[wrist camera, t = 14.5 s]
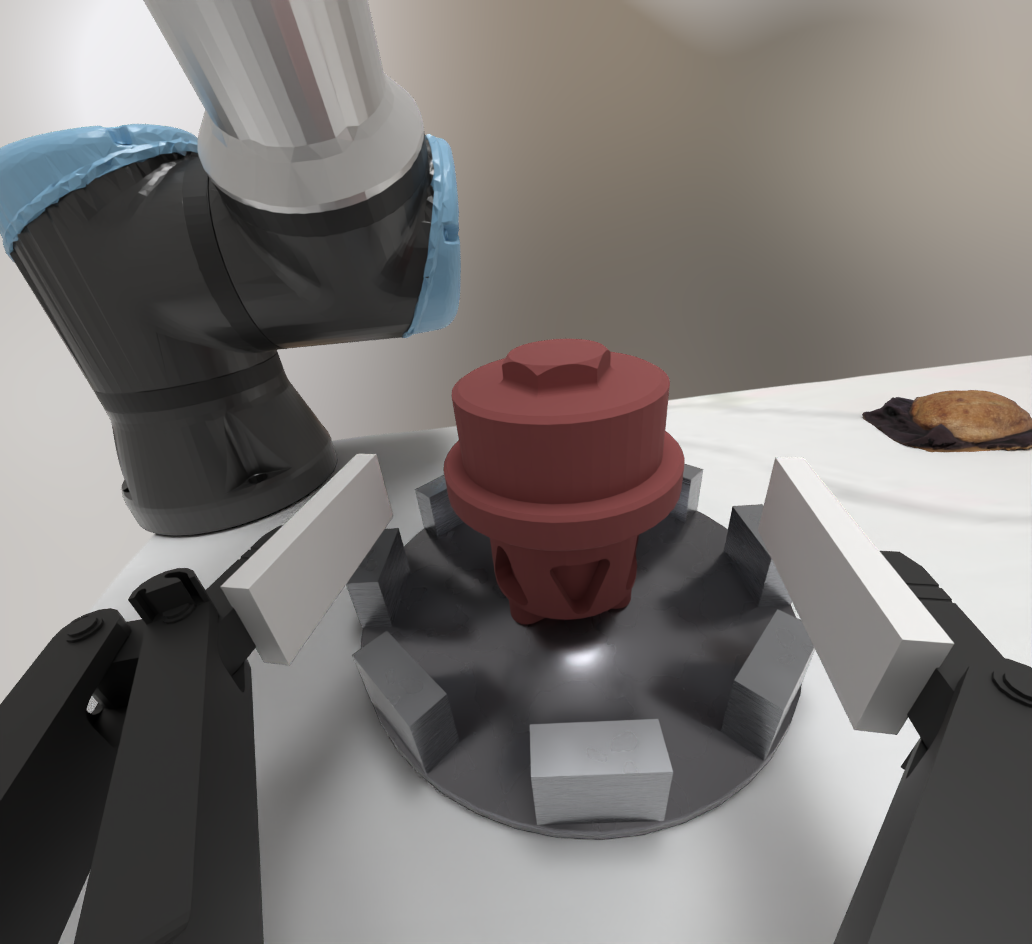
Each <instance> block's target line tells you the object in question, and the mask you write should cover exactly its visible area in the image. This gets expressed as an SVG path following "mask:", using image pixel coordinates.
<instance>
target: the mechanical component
mask: <svg viewBox="0 0 1032 944" xmlns="http://www.w3.org/2000/svg"><path fill="white" fill-rule="evenodd" d="M669 386H670V382H669V378H668V376H667V374H666V373H665V372H664V371H663V370H662V369H660V368H659V367H657V366H655V365H653V364H651V363H649V362H647V361H645V360H643V359H640V358H637V357H634V356H630V355H626V354H621V353H615V352H610V351H609V350H608V349H607V348H606V347H605V346H603V345H602V344H600V343H598V342H594V341H590V340H582V339H553V340H544V341H538V342H533V343H528V344H525V345H522V346H519V347H516V348H515V349H513V350H512V351H510V352H509V354H508V355H507V356H506V358H505V359H501V360H497V361H495V362H491V363H489V364H486V365H484V366H481V367H479V368H477V369H476V370H473V371H472V372H470V373H469V374H467V375H466V376H464V377H463V378H461V379H460V380H459V381H458V382H457V383H456V384H455V386H454V387H453V390H452V401H453V407H454V413H455V419H456V425H457V431H458V437H459V441H458V442H457V443H456V444H455V445H454V446H453V447H452V448H451V450H450V451H449V453H448V454H447V457H446V459H445V462H444V475H445V481H446V486H447V492H448V497H449V500H450V504H451V506H452V508H453V510H454V511H455V513H456V514H457V515H458V516H459V517H460V519H461V520H462V521H463V522H464V523H466V524H467V525H468V526H470V527H471V528H473V529H474V530H476V531H478V532H480V533H482V534H483V535H485V536H487V537H490V543H491V550H492V557H493V564H494V571H495V576H496V580H497V584H498V586H499V587H500V589H501V591H502V592H503V594H504V595H505V596H506V597H507V598H508V599H509V605H510V613H511V616H512V618H513V619H514V620H515V621H516V622H518V623H521V624H533V623H535V622H538V621H540V620H542V619H544V618H551V619H564V620H570V619H582V618H586V617H591V616H595V615H598V614H600V613H603V612H605V611H608V610H609V609H619V608H623V607H625V606H627V605H628V604H629V603H630V601H631V591H632V587H633V585H634V582H635V579H636V572H637V561H636V548H637V544H638V539H639V534H641V533H643V532H645V531H647V530H648V529H650V528H652V527H654V526H655V525H657V524H658V523H659V522H661V521H662V520H663V519H664V518H666V517H667V516H668V514H669V513H670V512H671V511H672V510H673V509H674V507H675V505H676V504H677V502H678V500H679V497H680V493H681V488H682V480H683V472H684V455H683V451H682V449H681V447H680V446H679V444H678V443H677V441H676V440H675V439H674V438H673V437H672V436H671V435H670V434H669V433H667V432H666V431H665V427H666V417H667V406H668V396H669Z"/></svg>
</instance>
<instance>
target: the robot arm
mask: <svg viewBox="0 0 1032 944" xmlns="http://www.w3.org/2000/svg"><path fill="white" fill-rule="evenodd" d="M144 2H145V4H146V5H147V7H148V9H149V11H150V13H151V14H152V16H153V18H154V19H155V21H156V23H157V25H158V27H159V29H160V30H161V32H162V34H163V36H164V37H165V39H166V41H167V43H168V44H169V46H170V48H171V50H172V51H173V53H174V55H175V57H176V58H177V60H178V61H179V64H180V65H181V67H182V69H183V71H184V73H185V74H186V76H187V78H188V80H189V81H190V83H191V85H192V86H193V88H194V90H195V92H196V93H197V95H198V97H199V99H200V100H201V102H202V104H203V106H204V108H205V109H206V110H205V113H204V116H203V120H202V123H201V127H200V131H199V135H198V138H197V137H196V136H194V135H193V134H191V133H189V132H187V131H184V130H182V129H178V128H173V127H168V126H160V125H149V124H130V125H122V126H119V127H111V128H104V127H102V126H90V127H81V128H74V129H67V130H61V131H55V132H50V133H46V134H41V135H37V136H33V137H29V138H25V139H22V140H19V141H17V142H13V143H10V144H8V145H6V146H4V147H2V148H0V234H1V236H2V238H3V245H4V248H5V251H6V253H7V254H8V256H9V257H10V258H11V260H12V261H13V262H15V263H16V265H17V267H18V268H19V270H20V272H21V273H22V275H23V276H24V278H25V280H26V281H27V283H28V285H29V286H30V288H31V289H32V291H33V293H34V294H35V296H36V298H37V299H38V301H39V303H40V304H41V306H42V307H43V309H44V311H45V312H46V314H47V315H48V317H49V319H50V320H51V322H52V324H53V325H54V327H55V329H56V330H57V332H58V334H59V335H60V337H61V338H62V340H63V341H64V343H65V345H66V346H67V348H68V350H69V351H70V353H71V355H72V356H73V358H74V359H75V361H76V363H77V364H78V366H79V368H80V369H81V371H82V373H83V374H84V376H85V378H86V379H87V381H88V382H89V384H90V386H91V387H92V389H93V390H94V392H95V394H96V395H97V397H98V399H99V401H100V402H101V404H102V405H103V407H104V409H105V411H106V413H107V414H108V416H109V418H110V420H111V423H112V428H113V434H114V440H115V445H116V450H117V455H118V459H119V464H120V467H121V470H122V474H123V476H124V479H125V480H124V482H123V484H122V494H123V498H124V501H125V503H126V505H127V506H128V508H129V509H130V511H131V513H132V514H133V515H134V517H135V519H136V520H137V522H138V523H139V525H140V526H141V527H142V528H144V529H145V530H147V531H150V532H153V533H156V534H162V535H193V534H201V533H207V532H213V531H218V530H222V529H226V528H230V527H234V526H238V525H241V524H244V523H247V522H250V521H253V520H256V519H259V518H261V517H264V516H266V515H269V514H271V513H274V512H276V511H278V510H280V509H282V508H284V507H286V506H288V505H290V504H292V503H294V502H296V501H298V500H299V499H301V498H303V497H304V496H306V495H307V494H309V493H310V492H312V491H313V490H314V489H316V488H317V487H318V486H319V485H321V484H322V483H323V482H324V481H325V480H326V479H327V478H328V477H329V476H330V474H331V473H332V472H333V470H334V468H335V466H336V463H337V455H336V452H335V449H334V446H333V443H332V440H331V437H330V435H329V433H328V431H327V430H326V429H325V427H324V426H323V425H322V424H321V422H320V421H319V420H318V418H317V417H316V416H315V414H314V413H313V412H312V410H311V409H310V408H309V406H308V405H307V404H306V402H305V401H304V400H303V399H302V397H301V396H300V395H299V393H298V392H297V391H296V389H295V388H294V387H293V385H292V384H291V383H290V381H289V380H288V378H287V376H286V374H285V371H284V369H283V366H282V363H281V361H280V358H279V355H278V352H277V350H278V349H287V348H297V347H307V346H317V345H327V344H338V343H348V342H358V341H368V340H379V339H389V338H400V337H402V338H407V337H410V336H411V335H412V334H417V333H423V332H428V331H434V330H439V329H442V328H444V327H446V326H448V325H449V324H450V323H451V322H452V321H453V319H454V318H455V316H456V314H457V310H458V306H459V298H460V272H461V270H460V268H461V263H460V241H459V236H458V231H459V223H458V217H459V210H458V195H457V183H456V175H455V167H454V161H453V156H452V152H451V148H450V146H449V144H448V143H447V142H446V141H445V140H443V139H441V138H436V137H435V136H431V134H428V135H425V134H424V127H423V121H422V116H421V113H420V110H419V108H418V106H417V104H416V102H415V101H414V99H413V97H412V96H411V95H410V94H409V93H408V92H407V91H406V90H405V89H404V88H403V87H401V86H400V85H399V84H398V83H396V82H395V81H394V80H393V79H391V78H390V77H389V76H387V75H386V74H385V73H384V72H383V68H382V63H381V59H380V54H379V49H378V45H377V41H376V36H375V31H374V27H373V22H372V17H371V13H370V9H369V4H368V0H144ZM392 517H393V513H392V509H391V506H390V502H389V498H388V495H387V491H386V487H385V484H384V480H383V477H382V473H381V469H380V466H379V462H378V458H377V455H376V454H356V455H355V456H354V457H353V458H352V459H351V460H350V461H349V462H348V463H347V464H346V465H345V466H344V467H343V468H342V469H341V470H340V471H339V472H338V473H337V474H336V475H335V476H334V477H333V478H332V479H330V480H329V481H328V482H327V483H326V484H325V485H324V486H323V487H322V488H321V489H320V490H319V491H318V492H317V493H316V494H315V495H314V496H313V497H312V498H311V499H310V500H309V501H308V502H307V503H306V504H305V505H304V506H303V507H302V508H301V509H300V510H299V511H298V512H297V513H296V514H295V515H293V516H292V517H291V518H290V519H289V520H288V521H287V522H286V523H285V524H284V525H283V526H279V527H277V528H275V529H274V530H272V531H270V532H269V533H267V534H265V535H264V536H262V537H261V538H260V539H259V540H258V541H257V542H256V543H255V544H254V545H253V546H252V547H251V550H248V551H247V552H246V553H244V554H243V555H242V556H241V559H240V560H237V561H236V562H235V563H234V564H233V565H232V566H231V567H230V568H229V569H228V570H227V571H225V572H224V573H223V574H222V575H221V576H220V577H219V578H218V579H217V580H216V581H215V582H214V583H213V584H212V585H211V586H210V587H209V588H207V589H206V590H205V589H204V587H203V586H202V584H201V583H200V581H199V579H198V578H197V576H196V574H195V573H194V571H193V570H190V569H188V568H177V569H173V570H169V571H165V572H163V573H161V574H158V575H156V576H154V577H152V578H150V579H149V580H147V581H146V582H144V583H142V584H141V585H140V586H139V587H138V588H137V589H135V590H134V591H133V592H132V594H131V596H130V597H129V599H128V600H129V602H130V603H131V604H132V606H133V607H134V609H135V610H136V611H137V613H138V614H139V615H140V617H141V618H142V619H141V620H135V621H130V622H126V621H125V619H124V618H123V617H122V615H121V614H120V613H119V612H118V610H115V609H111V608H110V609H102V610H98V611H95V612H92V613H88V614H85V615H83V616H81V617H79V618H77V619H75V620H74V621H72V622H71V623H70V624H68V625H67V626H65V627H64V628H63V629H61V630H60V631H59V632H58V633H57V634H56V635H55V636H54V637H53V638H52V640H51V641H50V642H49V643H48V645H47V646H46V647H45V649H44V650H43V651H42V652H41V654H40V655H39V656H38V657H37V659H36V660H35V661H34V662H33V664H32V665H31V666H30V668H29V669H28V670H27V671H26V673H25V674H24V675H23V676H22V678H21V679H20V680H19V682H18V683H17V684H16V685H15V687H14V688H13V689H12V690H11V692H10V693H9V694H8V695H7V697H6V698H5V699H4V701H3V702H2V703H1V704H0V944H58V942H59V940H60V937H61V935H62V933H63V931H64V928H65V926H66V924H67V922H68V919H69V917H70V915H71V912H72V910H73V908H74V906H75V903H76V901H77V899H78V897H79V894H80V892H81V890H82V887H83V885H84V883H85V881H86V878H87V876H88V874H89V872H90V875H89V879H88V883H87V888H86V892H85V897H84V901H83V905H82V910H81V914H80V919H79V923H78V927H77V932H76V936H75V941H74V944H264V941H263V919H262V897H261V875H260V853H259V832H258V810H257V788H256V766H255V744H254V722H253V700H252V678H251V667H250V664H249V662H248V660H247V658H248V656H249V655H250V654H251V653H252V651H253V650H254V649H255V648H256V649H257V651H258V653H259V655H260V656H261V658H262V660H263V662H264V663H273V664H282V665H290V664H291V662H292V661H293V660H294V658H295V657H296V655H297V654H298V652H299V651H300V650H301V648H302V647H303V645H304V644H305V642H306V641H307V639H308V638H309V637H310V635H311V634H312V632H313V631H314V629H315V628H316V627H317V625H318V624H319V622H320V621H321V619H322V618H323V617H324V615H325V614H326V612H327V611H328V609H329V608H330V606H331V605H332V604H333V602H334V601H335V599H336V598H337V596H338V595H339V594H340V592H341V591H342V589H343V588H344V586H345V585H346V584H347V582H348V581H349V579H350V578H351V576H352V575H353V573H354V572H355V571H356V569H357V568H358V566H359V565H360V563H361V562H362V561H363V559H364V558H365V556H366V555H367V553H368V552H369V550H370V549H371V548H372V546H373V545H374V543H375V542H376V540H377V539H378V538H379V536H380V535H381V533H382V532H383V530H384V529H385V528H386V526H387V525H388V523H389V522H390V520H391V519H392ZM758 531H759V533H760V535H761V537H762V539H763V542H764V544H765V546H766V548H767V550H768V552H769V554H770V556H771V558H772V560H773V562H774V564H775V566H776V569H777V571H778V573H779V575H780V577H781V579H782V581H783V583H784V585H785V587H786V589H787V591H788V593H789V596H790V598H791V600H792V602H793V604H794V606H795V608H796V610H797V612H798V614H799V616H800V618H801V620H802V623H803V625H804V627H805V629H806V631H807V633H808V635H809V637H810V639H811V641H812V643H813V645H814V647H815V650H816V652H817V654H818V656H819V658H820V660H821V662H822V664H823V666H824V668H825V670H826V672H827V674H828V677H829V679H830V681H831V683H832V685H833V687H834V689H835V691H836V693H837V695H838V697H839V699H840V701H841V704H842V706H843V708H844V710H845V712H846V714H847V716H848V718H849V720H850V722H851V724H852V726H853V728H854V730H859V731H868V732H877V733H886V734H895V735H897V734H898V733H899V731H900V729H901V728H902V726H903V725H904V723H905V721H906V720H907V718H908V717H909V719H910V721H911V722H912V724H913V725H914V727H915V729H916V730H917V732H918V734H919V735H920V737H921V738H920V739H919V740H918V742H917V743H916V745H915V746H914V748H913V749H912V751H911V752H910V754H909V755H908V757H907V758H906V760H905V761H904V763H903V764H902V766H901V768H903V769H904V770H905V771H904V773H903V776H902V778H901V781H900V783H899V786H898V788H897V790H896V793H895V795H894V798H893V800H892V803H891V805H890V807H889V810H888V812H887V815H886V817H885V820H884V822H883V825H882V827H881V829H880V832H879V834H878V837H877V839H876V842H875V844H874V846H873V849H872V851H871V854H870V856H869V859H868V861H867V864H866V866H865V868H864V871H863V873H862V876H861V878H860V881H859V883H858V886H857V888H856V890H855V893H854V895H853V898H852V900H851V903H850V905H849V907H848V910H847V912H846V915H845V917H844V920H843V922H842V925H841V927H840V929H839V932H838V934H837V937H836V939H835V942H834V944H1032V668H1031V667H1029V666H1027V665H1024V664H1021V663H1018V662H1016V661H1013V660H1010V659H1005V658H1004V657H1003V656H1002V655H1001V654H1000V653H999V651H998V650H997V649H996V648H995V647H994V646H993V645H992V644H991V643H990V641H989V640H988V639H987V638H986V637H985V636H984V635H983V634H982V633H981V631H980V630H979V629H978V628H977V627H976V626H975V625H974V624H973V622H972V621H971V620H970V619H969V618H968V617H967V616H966V615H965V614H964V612H963V611H962V610H961V609H960V608H959V607H958V606H957V605H956V604H955V603H952V599H951V598H950V597H949V596H948V595H947V593H946V592H945V591H944V590H943V589H942V588H939V585H938V583H937V582H936V581H935V580H934V579H933V578H932V577H931V576H930V574H929V573H928V572H927V571H926V570H925V569H924V568H923V567H922V566H920V565H919V564H917V563H916V562H914V561H913V560H911V559H910V558H908V557H907V556H905V555H904V554H902V553H901V552H893V551H879V550H878V549H877V547H876V546H875V545H874V544H873V543H872V541H871V540H870V539H869V538H868V536H867V535H866V534H865V533H864V531H863V530H862V529H861V528H860V526H859V525H858V524H857V523H856V522H855V520H854V519H853V518H852V517H851V515H850V514H849V513H848V512H847V510H846V509H845V508H844V507H843V506H842V504H841V503H840V502H839V501H838V499H837V498H836V497H835V496H834V494H833V493H832V492H831V491H830V489H829V488H828V487H827V486H826V485H825V483H824V482H823V481H822V480H821V478H820V477H819V476H818V475H817V473H816V472H815V471H814V470H813V468H812V467H811V466H810V465H809V464H808V462H807V461H806V460H805V459H804V457H775V462H774V466H773V470H772V474H771V478H770V482H769V486H768V490H767V495H766V499H765V503H764V507H763V511H762V515H761V519H760V523H759V527H758ZM91 696H93V697H94V698H95V699H96V700H97V702H98V704H97V706H96V708H95V709H94V711H93V712H92V713H89V712H88V711H87V705H88V703H89V700H90V698H91ZM90 869H91V870H90Z"/></svg>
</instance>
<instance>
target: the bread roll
mask: <svg viewBox="0 0 1032 944" xmlns="http://www.w3.org/2000/svg"><path fill="white" fill-rule="evenodd" d="M862 415H863V418H864V420H866V421H867V422H869V423H871V424H872V425H874V426H875V427H876V428H878V429H879V430H881V431H882V432H883V433H885V435H887V436H888V437H889V438H891V439H893V440H894V441H896V442H899V443H901V444H904V445H907V446H910V447H914V448H919V449H922V450H926V451H928V452H964V451H965V452H975V451H990V450H1000V449H1005V450H1007V451H1009V450H1016V449H1029V448H1031V447H1032V418H1031V417H1030V415H1029V413H1028V412H1027V411H1025V410H1023V409H1022V408H1021V407H1019V406H1018V405H1017V404H1016V402H1014V401H1012V400H1010V399H1008V398H1006V397H1004V396H1001V395H998V394H995V393H992V392H988V391H978V390H968V391H944V392H939V393H934V394H931V395H927V396H923V397H917V398H916V399H915V400H910V399H905V398H900V397H896V398H892V399H891V400H889V401H888V402H887V403H885V404H884V406H883V407H882V408H880V409H877V410H874V411H871V412H864V413H863V414H862Z"/></svg>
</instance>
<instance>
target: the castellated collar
mask: <svg viewBox="0 0 1032 944" xmlns="http://www.w3.org/2000/svg"><path fill="white" fill-rule="evenodd" d="M702 474H703V469H700V468H697V467H694V466H690V465H687V464H684V472H683V480H682V488H681V493H680V497H679V500H678V502H677V504H676V505H675V507H674V509H673V510H672V511H671V512H670V513H669V514H668V516H667V517H666V518H664V519H663V520H662V521H661V522H659V523H658V524H657V525H655V526H654V527H652V528H650V529H648V530H647V531H645V532H643V533H641V534H639V539H638V544H637V548H636V561H637V572H636V579H635V582H634V585H633V587H632V591H631V601H630V603H629V604H628V605H627V606H625V607H623V608H619V609H609V610H608V611H605V612H603V613H600V614H598V615H595V616H591V617H586V618H582V619H570V620H564V619H551V618H544V619H542V620H540V621H538V622H535V623H533V624H521V623H518V622H516V621H515V620H514V619H513V618H512V616H511V613H510V605H509V599H508V598H507V597H506V596H505V595H504V594H503V592H502V591H501V589H500V587H499V586H498V584H497V580H496V576H495V571H494V564H493V557H492V550H491V543H490V537H487V536H485V535H483V534H482V533H480V532H478V531H476V530H474V529H473V528H471V527H470V526H468V525H467V524H466V523H464V522H463V521H462V520H461V519H460V517H459V516H458V515H457V514H456V513H455V511H454V510H453V508H452V506H451V504H450V500H449V497H448V492H447V486H446V481H445V475H443V476H441V477H439V478H437V479H435V480H433V481H431V482H429V483H427V484H425V485H423V486H421V487H419V488H417V489H415V491H416V495H417V499H418V504H419V508H420V512H421V516H422V521H423V525H424V529H423V530H422V531H421V532H419V533H418V534H417V535H416V536H415V537H414V538H413V539H412V540H410V541H409V542H408V543H407V544H406V545H405V546H403V543H402V539H401V535H400V532H399V528H394V529H384V530H383V532H382V533H381V535H380V536H379V538H378V539H377V540H376V542H375V543H374V545H373V546H372V548H371V549H370V550H369V552H368V553H367V555H366V556H365V558H364V559H363V561H362V562H361V563H360V565H359V566H358V568H357V569H356V571H355V572H354V573H353V575H352V576H351V578H350V579H349V581H348V582H347V584H346V586H347V589H348V591H349V594H350V597H351V599H352V602H353V604H354V607H355V610H356V612H357V615H358V618H359V620H360V623H361V626H362V628H363V631H362V638H361V649H360V650H358V651H357V652H356V653H354V654H353V655H352V656H353V658H354V661H355V663H356V666H357V668H358V670H359V673H360V675H361V678H362V680H363V682H364V685H365V687H366V690H367V692H368V694H369V697H370V699H371V702H372V703H373V706H374V708H375V711H376V713H377V716H378V718H379V720H380V723H381V724H382V726H383V728H384V729H385V731H386V733H387V734H388V736H389V738H390V739H391V741H392V742H393V744H394V746H395V747H396V749H397V750H398V751H399V752H400V753H401V754H402V756H403V757H404V758H405V759H406V760H407V761H408V762H409V764H410V765H411V766H412V767H413V768H414V769H415V770H416V772H417V773H419V774H420V775H421V776H422V777H423V778H425V779H426V780H427V781H428V782H430V783H431V784H432V785H433V786H434V787H436V788H437V789H438V790H439V791H441V792H442V793H443V794H444V795H446V796H447V797H449V798H451V799H453V800H454V801H456V802H458V803H460V804H461V805H463V806H465V807H467V808H468V809H470V810H472V811H474V812H475V813H477V814H479V815H482V816H484V817H487V818H489V819H492V820H495V821H497V822H500V823H503V824H505V825H508V826H511V827H513V828H516V829H520V830H525V831H530V832H535V833H539V834H544V835H549V836H554V837H561V838H582V839H609V838H617V837H626V836H635V835H644V834H647V833H651V832H654V831H657V830H661V829H664V828H668V827H671V826H675V825H678V824H682V823H684V822H687V821H689V820H691V819H693V818H695V817H697V816H699V815H701V814H703V813H705V812H707V811H709V810H711V809H713V808H715V807H717V806H719V805H720V804H722V803H723V802H724V801H726V800H727V799H728V798H730V797H731V796H732V795H734V794H735V793H736V792H738V791H739V790H741V789H742V788H743V787H745V786H746V785H747V784H748V783H749V782H750V781H751V780H752V779H753V778H754V777H755V776H756V775H757V773H758V772H759V771H760V770H761V769H762V768H763V767H764V766H765V765H766V764H767V762H768V761H769V760H770V759H771V758H772V756H773V754H774V753H775V751H776V749H777V748H778V746H779V744H780V743H781V741H782V739H783V737H784V736H785V734H786V732H787V730H788V728H789V725H790V723H791V720H792V717H793V714H794V711H795V708H796V705H797V703H798V700H799V697H800V692H801V685H802V681H803V679H804V676H805V674H806V671H807V669H808V666H809V664H810V661H811V658H812V656H813V653H814V651H815V647H814V645H813V643H812V641H811V639H810V637H809V635H808V633H807V631H806V629H805V627H804V625H803V623H802V620H800V619H797V618H796V616H795V614H794V612H793V610H792V607H791V603H792V600H791V598H790V596H789V593H788V591H787V589H786V587H785V585H784V583H783V581H782V579H781V577H780V575H779V573H778V571H777V569H776V566H775V564H774V562H773V560H772V558H771V556H770V554H769V552H768V550H767V548H766V546H765V544H764V542H763V539H762V537H761V535H760V533H759V531H758V527H759V523H760V519H761V515H762V511H763V507H764V506H763V505H762V504H760V505H745V506H733V507H732V512H731V517H730V522H729V527H728V529H726V528H725V527H724V526H722V525H720V524H719V523H717V522H716V521H714V520H712V519H711V518H709V517H708V516H706V515H704V514H702V513H700V512H698V511H697V507H698V500H699V493H700V487H701V480H702Z"/></svg>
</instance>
